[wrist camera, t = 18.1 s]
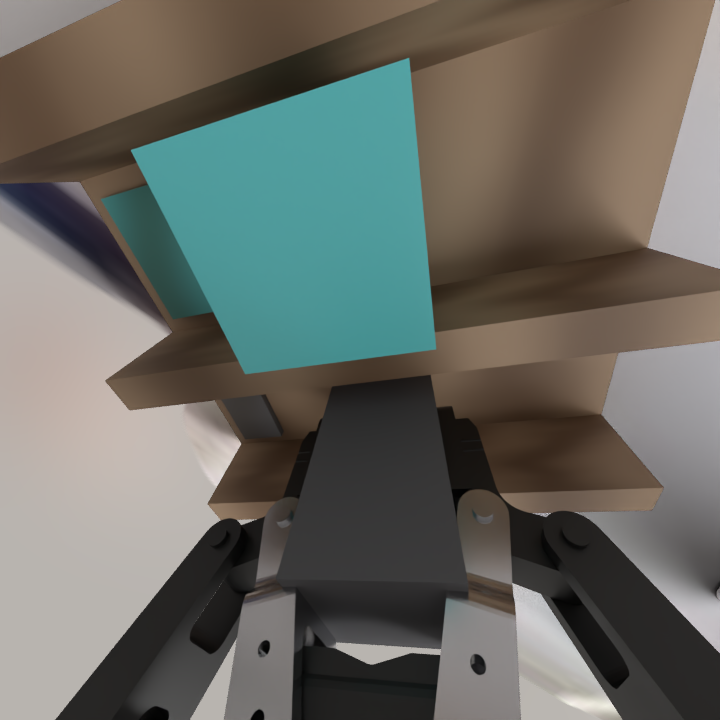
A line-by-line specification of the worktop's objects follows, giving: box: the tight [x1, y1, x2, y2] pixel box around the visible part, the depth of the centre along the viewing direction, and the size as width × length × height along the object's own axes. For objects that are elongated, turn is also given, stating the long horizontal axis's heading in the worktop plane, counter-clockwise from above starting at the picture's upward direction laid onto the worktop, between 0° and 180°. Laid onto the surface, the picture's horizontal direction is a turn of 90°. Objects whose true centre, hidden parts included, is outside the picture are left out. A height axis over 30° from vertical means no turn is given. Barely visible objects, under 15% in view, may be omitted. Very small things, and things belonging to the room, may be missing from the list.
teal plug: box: [131, 58, 436, 374], centre depth 8 cm, size 4×4×7 cm
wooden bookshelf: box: [0, 0, 720, 520], centre depth 11 cm, size 20×18×5 cm
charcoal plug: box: [276, 375, 469, 649], centre depth 10 cm, size 4×4×7 cm
